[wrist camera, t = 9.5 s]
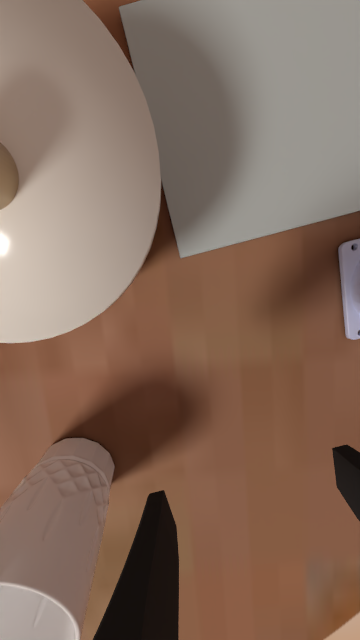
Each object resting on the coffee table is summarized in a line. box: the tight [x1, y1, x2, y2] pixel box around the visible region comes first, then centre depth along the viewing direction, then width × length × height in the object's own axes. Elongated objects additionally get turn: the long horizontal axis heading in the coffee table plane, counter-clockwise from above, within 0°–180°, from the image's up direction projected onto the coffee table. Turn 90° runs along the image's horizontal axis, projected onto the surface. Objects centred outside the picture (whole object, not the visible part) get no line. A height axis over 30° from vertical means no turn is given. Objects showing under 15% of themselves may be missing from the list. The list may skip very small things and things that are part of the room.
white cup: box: [0, 438, 115, 640], centre depth 16 cm, size 8×8×10 cm
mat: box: [119, 0, 360, 258], centre depth 15 cm, size 15×15×1 cm
